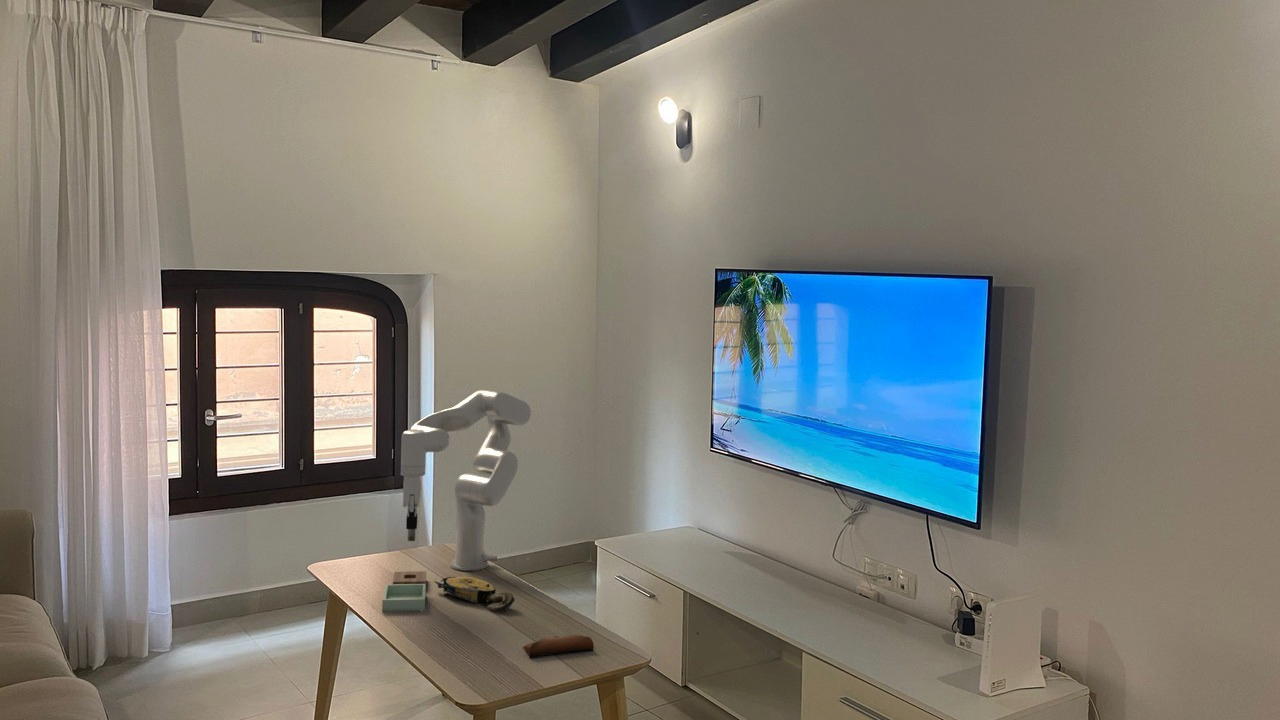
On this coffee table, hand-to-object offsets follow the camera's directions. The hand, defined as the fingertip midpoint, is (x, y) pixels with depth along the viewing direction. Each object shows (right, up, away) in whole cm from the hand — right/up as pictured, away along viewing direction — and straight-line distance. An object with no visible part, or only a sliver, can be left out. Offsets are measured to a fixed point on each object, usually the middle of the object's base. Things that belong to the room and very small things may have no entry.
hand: (411, 527), depth 299 cm
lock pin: (0, -4, 0) cm, 4 cm away
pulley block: (+22, -21, -8) cm, 32 cm away
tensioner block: (-1, -19, +2) cm, 19 cm away
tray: (+1, -20, -14) cm, 25 cm away
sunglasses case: (+50, -26, -44) cm, 71 cm away
